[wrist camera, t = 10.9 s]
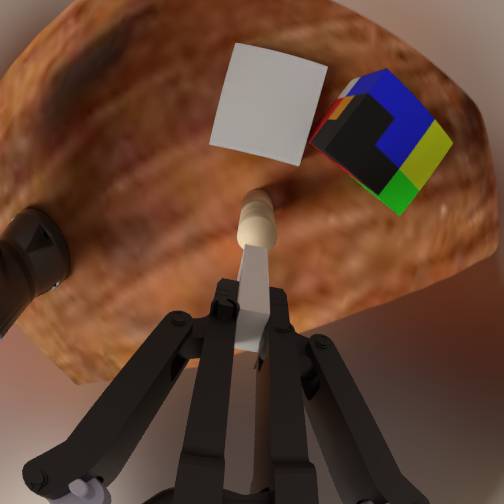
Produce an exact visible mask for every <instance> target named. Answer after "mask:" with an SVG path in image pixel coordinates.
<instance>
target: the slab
mask: <svg viewBox="0 0 504 504" xmlns="http://www.w3.org/2000/svg"><path fill="white" fill-rule="evenodd" d="M327 68H328V67H327V66H324V65H322V64H319V63H316V62H312V61H309V60H306V59H303V58H299V57H296V56H293V55H289V54H285V53H281V52H277V51H273V50H269V49H265V48H260V47H256V46H251V45H245V44H240V43H235V47H234V50H233V53H232V57H231V60H230V64H229V67H228V71H227V74H226V78H225V82H224V85H223V89H222V93H221V97H220V101H219V105H218V109H217V113H216V117H215V121H214V125H213V130H212V134H211V138H210V143H209V145H214V146H219V147H224V148H229V149H233V150H238V151H242V152H246V153H251V154H255V155H259V156H263V157H267V158H271V159H274V160H278V161H282V162H285V163H289V164H293V165H296V166H299V165H300V162H301V158H302V155H303V152H304V148H305V145H306V142H307V138H308V135H309V131H310V128H311V125H312V121H313V118H314V114H315V111H316V107H317V104H318V100H319V97H320V93H321V90H322V86H323V83H324V79H325V75H326V72H327Z"/></svg>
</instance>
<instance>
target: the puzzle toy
mask: <svg viewBox="0 0 504 504" xmlns="http://www.w3.org/2000/svg"><path fill="white" fill-rule="evenodd" d="M307 142H308V143H309V144H310V145H312V146H313V147H314V148H316V149H317V150H318V151H320V152H321V153H322V154H324V155H325V156H326V157H327V158H329V159H330V160H331V161H332V162H334V163H335V164H336V165H337V166H339V167H340V168H341V169H342V170H343V171H345V172H346V173H347V174H348V175H350V176H351V177H352V178H353V179H354V180H355V181H357V182H358V183H359V184H360V185H361V186H362V187H363V188H365V189H366V190H367V191H369V192H370V193H371V194H372V195H374V196H375V197H376V198H378V199H379V200H380V201H381V202H383V203H384V204H385V205H387V206H388V207H389V208H390V209H391V210H393V211H394V212H395V213H396V214H398V215H399V216H400V215H401V214H402V213H403V211H404V210H405V209H406V208H407V206H408V205H409V204H410V202H411V201H412V200H413V199H414V197H415V196H416V195H417V193H418V192H419V191H420V189H421V188H422V187H423V185H424V184H425V183H426V181H427V180H428V179H429V177H430V176H431V175H432V173H433V172H434V170H435V169H436V168H437V166H438V165H439V163H440V162H441V160H442V159H443V158H444V156H445V155H446V153H447V152H448V150H449V149H450V147H451V146H452V144H453V142H452V141H451V139H450V138H449V137H448V135H447V134H446V133H445V131H444V130H443V129H442V128H441V126H440V125H439V124H438V122H437V121H436V120H435V119H434V118H433V116H432V115H431V114H430V113H429V112H428V111H427V109H426V108H425V107H424V106H423V105H422V104H421V103H420V101H419V100H418V99H417V98H416V97H415V96H414V95H413V94H412V93H411V92H410V91H409V90H408V89H407V88H406V87H405V86H404V85H403V84H402V83H401V82H400V81H399V80H398V79H397V78H396V77H395V76H394V75H393V74H392V73H391V72H390V71H389V70H388V69H383V70H380V71H377V72H374V73H371V74H368V75H365V76H362V77H359V78H356V79H353V80H351V81H350V82H349V84H348V85H347V86H346V88H345V89H344V90H343V91H342V93H341V94H340V95H339V97H338V98H337V99H336V100H335V102H334V103H333V104H332V106H331V107H330V108H329V109H328V111H327V112H326V113H325V115H324V116H323V117H322V119H321V120H320V121H319V122H318V124H317V125H316V126H315V128H314V129H313V130H312V132H311V133H310V134H309V136H308V138H307Z"/></svg>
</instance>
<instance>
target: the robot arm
mask: <svg viewBox="0 0 504 504" xmlns="http://www.w3.org/2000/svg"><path fill="white" fill-rule="evenodd" d="M69 267H70V259H69V253H68V249H67V245H66V243H65V240H64V238H63V236H62V234H61V232H60V230H59V229H58V227H57V226H56V224H55V223H54V222H53V221H52V220H51V219H50V218H49V217H48V216H47V215H46V214H45V213H43V212H42V211H40V210H37V209H33V208H30V209H26V210H24V211H22V212H20V213H19V214H17V215H16V216H15V217H14V218H13V219H12V220H11V222H10V224H9V225H8V226H7V227H6V229H5V230H4V232H3V233H2V235H1V236H0V340H2V338H3V337H4V335H5V334H6V333H7V331H8V330H9V328H10V327H11V326H12V325H13V323H14V322H15V321H16V319H17V318H18V317H19V316H20V314H21V313H22V312H23V311H24V310H25V308H26V307H27V306H28V305H29V303H30V302H31V301H32V300H33V299H34V298H35V297H38V296H40V295H42V294H44V293H46V292H48V291H50V290H53V289H55V288H56V287H58V286H59V285H60V284H61V283H62V282H63V281H64V279H65V278H66V277H67V275H68V272H69ZM234 348H235V349H241V350H247V351H253V352H257V351H258V348H259V354H258V357H257V360H256V363H255V365H254V369H255V368H256V405H255V435H254V465H253V479H252V482H251V487H250V494H249V495H242V494H238V493H235V492H232V491H229V490H226V489H223V482H224V471H225V459H224V448H225V439H226V428H227V417H228V406H229V396H230V385H231V375H232V364H233V355H234ZM194 358H200V361H199V366H198V371H197V376H196V381H195V385H194V390H193V395H192V400H191V405H190V411H189V416H188V421H187V426H186V431H185V437H184V442H183V447H182V451H181V455H180V459H179V465H178V470H177V476H176V482H175V487H172V488H168V489H166V490H163V491H161V492H159V493H157V494H156V495H154V496H153V497H151V498H150V499H148V500H147V501H145V502H144V503H142V504H319V502H318V487H317V475H316V469H315V466H314V464H312V463H311V462H310V461H309V458H308V448H307V436H306V425H305V415H304V407H305V409H306V412H307V414H308V417H309V420H310V422H311V425H312V428H313V430H314V433H315V435H316V438H317V441H318V443H319V446H320V448H321V451H322V454H323V456H324V459H325V461H326V464H327V466H328V469H329V472H330V474H331V477H332V479H333V482H334V484H335V487H336V490H337V492H338V494H339V496H340V499H341V501H342V502H343V504H430V503H429V501H428V499H427V498H426V497H425V496H424V495H423V494H422V493H421V492H420V491H419V490H418V489H417V488H416V487H414V486H413V485H412V484H411V483H410V482H409V481H408V480H407V479H406V478H405V477H404V476H403V475H402V474H401V472H400V470H399V468H398V466H397V464H396V462H395V460H394V458H393V456H392V454H391V452H390V450H389V448H388V446H387V444H386V442H385V440H384V438H383V436H382V434H381V432H380V430H379V428H378V426H377V424H376V422H375V420H374V418H373V416H372V414H371V412H370V410H369V408H368V406H367V405H366V403H365V401H364V399H363V397H362V395H361V393H360V391H359V389H358V388H357V386H356V384H355V382H354V380H353V378H352V376H351V374H350V372H349V371H348V369H347V367H346V365H345V363H344V361H343V360H342V358H341V356H340V354H339V352H338V351H337V348H336V347H335V345H334V343H333V342H332V340H331V339H330V338H328V337H327V336H325V335H322V334H314V335H312V336H311V337H310V338H307V337H304V336H302V335H300V334H298V333H296V332H295V329H294V327H293V326H292V325H291V323H290V319H289V311H288V303H287V295H286V293H285V292H284V291H283V289H280V288H274V287H269V275H268V253H267V248H262V247H257V246H252V245H247V244H245V246H244V251H243V255H242V260H241V264H240V269H239V273H238V278H237V281H234V280H229V279H224V278H222V279H221V280H220V281H219V282H218V284H217V288H216V292H215V297H214V299H213V301H212V303H211V309H210V313H209V315H207V316H206V317H203V318H192V317H191V316H190V314H188V313H186V312H183V311H172V312H170V313H168V314H167V315H166V316H165V317H164V319H163V320H162V321H161V322H160V323H159V325H158V326H157V327H156V328H155V329H154V331H153V332H152V333H151V334H150V335H149V337H148V338H147V339H146V340H145V341H144V343H143V344H142V345H141V346H140V347H139V349H138V350H137V351H136V352H135V354H134V355H133V356H132V357H131V358H130V360H129V361H128V362H127V363H126V365H125V366H124V367H123V368H122V370H121V371H120V372H119V373H118V375H117V376H116V377H115V378H114V380H113V381H112V382H111V383H110V385H109V386H108V387H107V388H106V390H105V391H104V392H103V393H102V395H101V396H100V397H99V399H98V400H97V401H96V402H95V404H94V405H93V406H92V407H91V409H90V410H89V411H88V413H87V414H86V415H85V416H84V418H83V419H82V420H81V422H80V423H79V424H78V426H77V427H76V428H75V430H74V431H73V432H72V433H71V435H70V436H69V437H68V439H67V440H66V441H65V442H63V443H61V444H59V445H57V446H56V447H54V448H52V449H50V450H49V451H47V452H45V453H43V454H42V455H39V456H37V457H36V458H34V459H32V460H30V461H28V462H27V463H26V464H25V465H24V467H23V470H22V475H23V479H24V481H25V484H26V485H27V486H28V488H29V489H30V490H31V491H33V492H35V493H36V494H37V495H40V496H42V497H44V498H46V499H47V500H48V501H49V502H50V504H111V495H110V493H109V491H108V490H107V488H106V487H108V486H109V485H110V484H111V483H112V482H113V481H114V480H115V478H116V477H117V476H118V474H119V473H120V472H121V470H122V468H123V467H124V465H125V464H126V462H127V461H128V459H129V457H130V456H131V454H132V452H133V451H134V449H135V448H136V446H137V444H138V443H139V441H140V440H141V438H142V436H143V435H144V433H145V431H146V430H147V428H148V427H149V425H150V423H151V422H152V420H153V418H154V417H155V415H156V414H157V412H158V410H159V409H160V407H161V405H162V404H163V402H164V401H165V399H166V397H167V396H168V394H169V392H170V391H171V389H172V387H173V386H174V384H175V383H176V381H177V379H178V378H179V376H180V375H181V373H182V371H183V370H184V368H185V366H186V365H187V363H188V361H189V359H194ZM303 404H304V405H303Z"/></svg>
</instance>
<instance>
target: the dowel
mask: <svg viewBox="0 0 504 504" xmlns="http://www.w3.org/2000/svg"><path fill="white" fill-rule="evenodd" d="M237 240H238V243H239V245H240V246H241V247H242V249H244V246H245V244H247V245H252V246H257V247H262V248H267V252H268V251H269V250H271V249H272V248H273V246H274V245H275V243H276V240H277V232H276V225H275V219H274V212H273V205H272V200H271V197H270V195H269V194H268V193H267V192H265V191H263V190H260V189H255V190H251V191H250V192H248V193H247V194H246V195H245V197H244V199H243V204H242V210H241V216H240V221H239V227H238V233H237Z"/></svg>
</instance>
